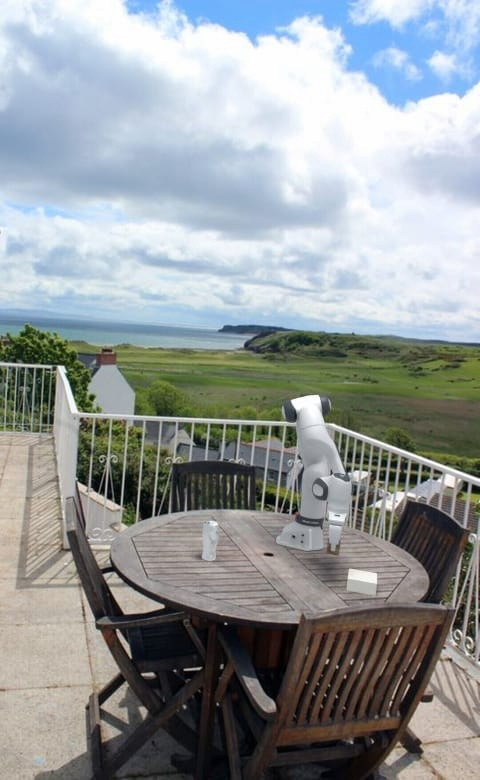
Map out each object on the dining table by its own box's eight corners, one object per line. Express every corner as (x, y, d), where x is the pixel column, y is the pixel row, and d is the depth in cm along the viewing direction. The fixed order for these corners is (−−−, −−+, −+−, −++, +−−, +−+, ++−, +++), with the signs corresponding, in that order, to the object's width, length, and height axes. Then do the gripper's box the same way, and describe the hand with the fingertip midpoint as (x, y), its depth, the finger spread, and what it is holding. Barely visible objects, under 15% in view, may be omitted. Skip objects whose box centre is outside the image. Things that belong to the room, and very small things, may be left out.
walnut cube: (326, 553, 226) (327, 541, 226) (326, 549, 231) (328, 537, 230) (338, 555, 225) (340, 543, 225) (339, 551, 230) (340, 539, 229)
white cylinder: (219, 557, 239) (222, 523, 238) (212, 562, 233) (215, 527, 232) (205, 554, 242) (208, 519, 241) (197, 558, 236) (200, 523, 235)
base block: (346, 591, 218) (347, 578, 217) (347, 580, 228) (349, 568, 228) (375, 596, 215) (377, 583, 215) (375, 585, 226) (377, 573, 225)
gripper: (330, 506, 238) (326, 538, 239) (328, 520, 218) (323, 555, 219) (345, 509, 236) (341, 541, 237) (344, 522, 216) (340, 557, 217)
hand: (333, 548), depth 228 cm, fingers closed on walnut cube, 5 cm apart
